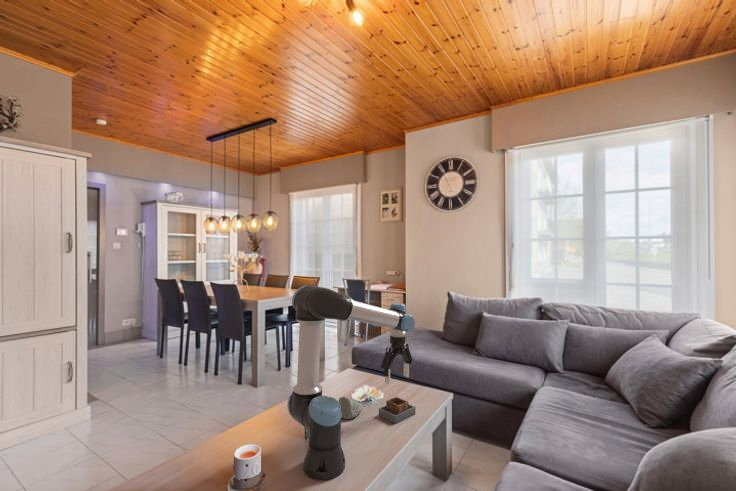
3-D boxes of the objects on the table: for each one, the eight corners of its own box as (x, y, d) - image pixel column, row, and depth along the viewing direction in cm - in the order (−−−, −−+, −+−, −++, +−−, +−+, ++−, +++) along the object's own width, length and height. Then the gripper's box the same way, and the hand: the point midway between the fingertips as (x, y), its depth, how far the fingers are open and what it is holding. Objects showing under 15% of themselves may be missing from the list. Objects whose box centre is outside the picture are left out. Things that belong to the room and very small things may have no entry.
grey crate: (395, 424, 157) (395, 416, 157) (378, 415, 165) (378, 408, 165) (415, 414, 167) (415, 406, 167) (398, 406, 175) (398, 399, 175)
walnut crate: (398, 419, 160) (398, 406, 161) (386, 413, 166) (386, 400, 166) (408, 414, 165) (408, 401, 165) (395, 408, 171) (395, 396, 171)
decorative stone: (340, 423, 157) (354, 405, 157) (329, 407, 165) (342, 389, 166) (357, 428, 165) (369, 411, 166) (345, 412, 173) (358, 395, 174)
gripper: (385, 340, 155) (384, 388, 155) (419, 333, 173) (419, 375, 172) (374, 337, 161) (373, 383, 160) (408, 330, 178) (407, 371, 177)
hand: (397, 379), depth 166 cm, fingers open, 13 cm apart
